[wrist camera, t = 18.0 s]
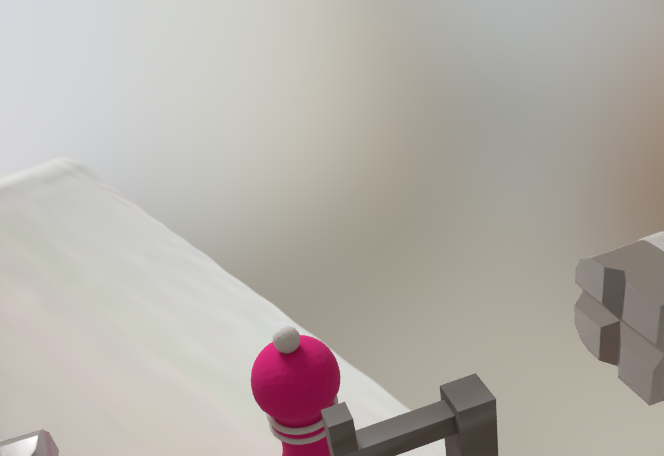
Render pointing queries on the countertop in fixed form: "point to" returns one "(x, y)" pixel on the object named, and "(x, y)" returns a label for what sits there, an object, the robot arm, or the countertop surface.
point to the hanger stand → (422, 425)
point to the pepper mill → (296, 390)
